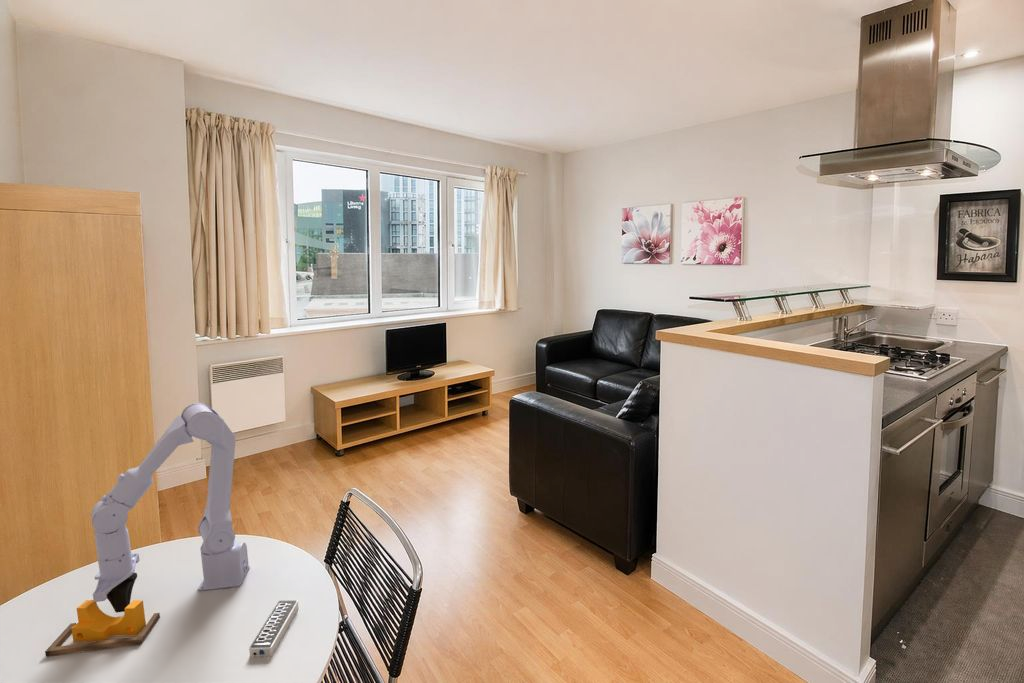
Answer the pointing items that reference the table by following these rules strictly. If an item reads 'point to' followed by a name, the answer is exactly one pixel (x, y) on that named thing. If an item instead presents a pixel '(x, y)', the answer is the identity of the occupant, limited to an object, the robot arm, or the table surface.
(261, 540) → the table surface
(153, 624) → the bay
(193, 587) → the table surface
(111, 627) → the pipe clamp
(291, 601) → the multiport hub
